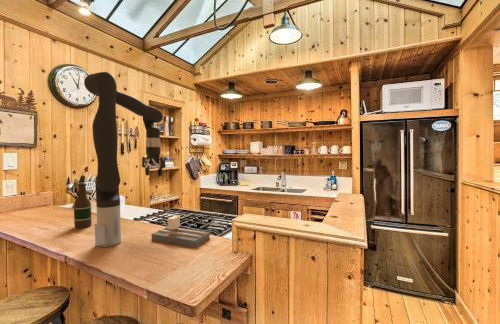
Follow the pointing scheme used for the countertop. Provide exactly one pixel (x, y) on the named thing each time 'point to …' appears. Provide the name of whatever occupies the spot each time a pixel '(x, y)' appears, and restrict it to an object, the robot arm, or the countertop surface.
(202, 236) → the console
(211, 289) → the countertop surface
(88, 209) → the beer bottle
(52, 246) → the countertop surface
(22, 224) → the countertop surface
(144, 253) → the countertop surface
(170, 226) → the fader tab
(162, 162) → the robot arm
